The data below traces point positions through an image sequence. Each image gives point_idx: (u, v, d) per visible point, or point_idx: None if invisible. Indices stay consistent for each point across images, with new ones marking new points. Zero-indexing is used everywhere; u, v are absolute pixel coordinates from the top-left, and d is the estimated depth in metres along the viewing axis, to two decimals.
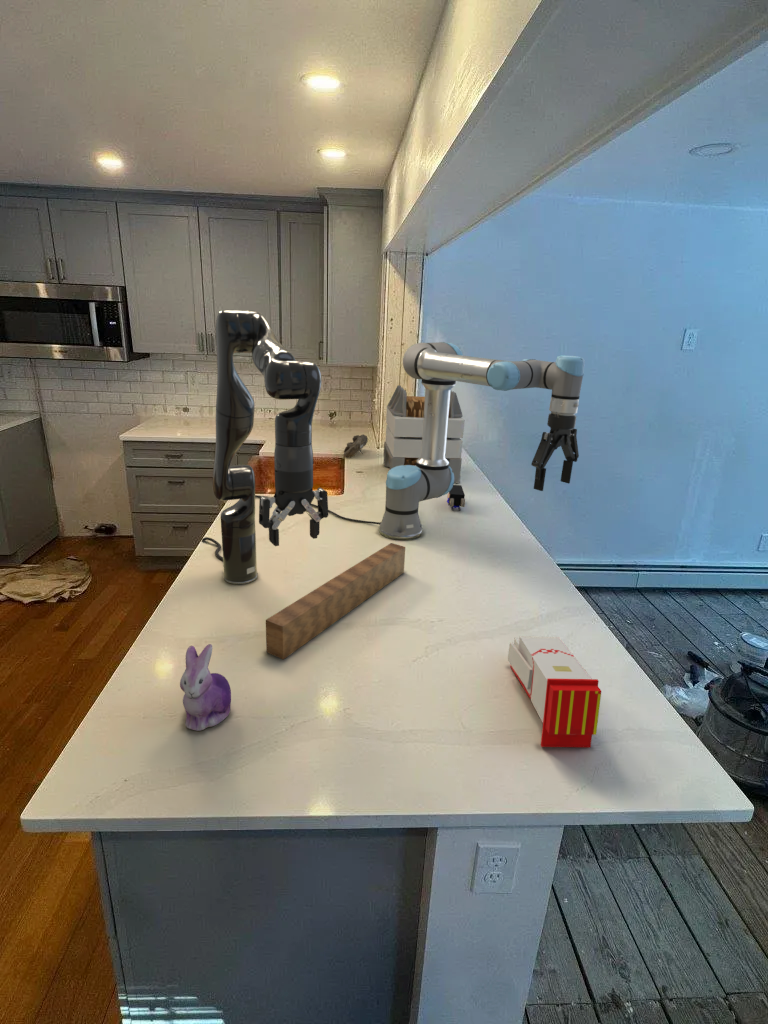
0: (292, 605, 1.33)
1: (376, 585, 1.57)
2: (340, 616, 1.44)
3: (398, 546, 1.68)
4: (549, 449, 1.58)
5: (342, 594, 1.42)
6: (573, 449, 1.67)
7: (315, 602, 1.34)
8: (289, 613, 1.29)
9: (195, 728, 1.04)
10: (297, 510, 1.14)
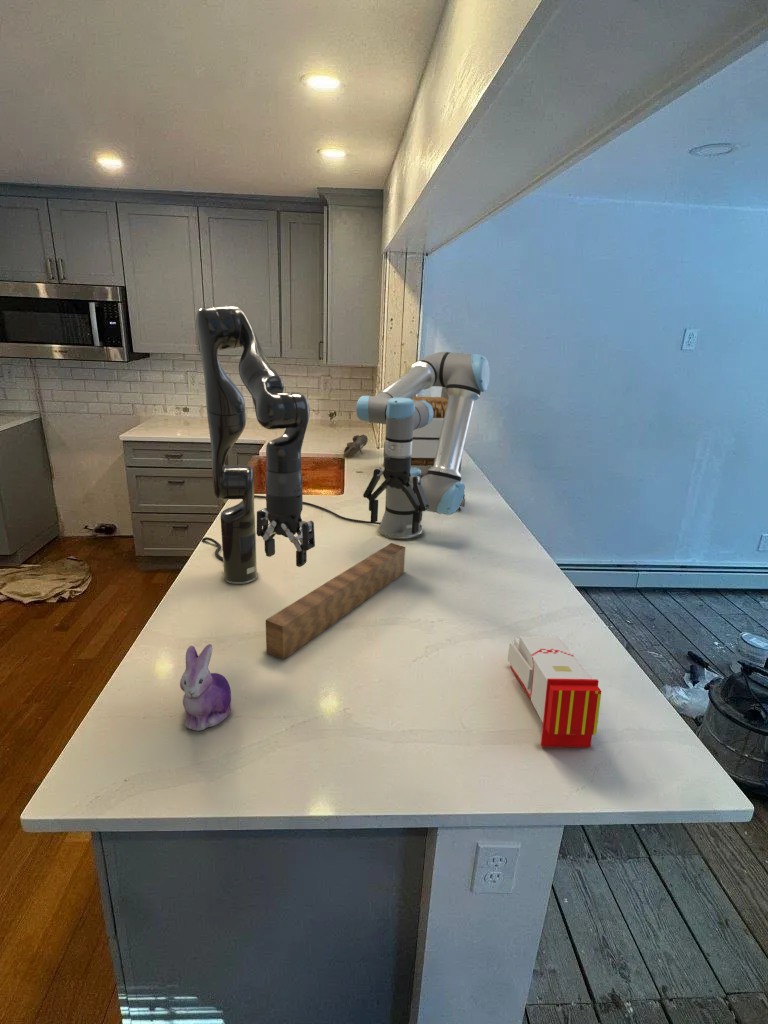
0: (292, 605, 1.33)
1: (376, 585, 1.57)
2: (340, 616, 1.44)
3: (398, 546, 1.68)
4: None
5: (342, 594, 1.42)
6: None
7: (315, 602, 1.34)
8: (289, 613, 1.29)
9: (195, 728, 1.04)
10: None
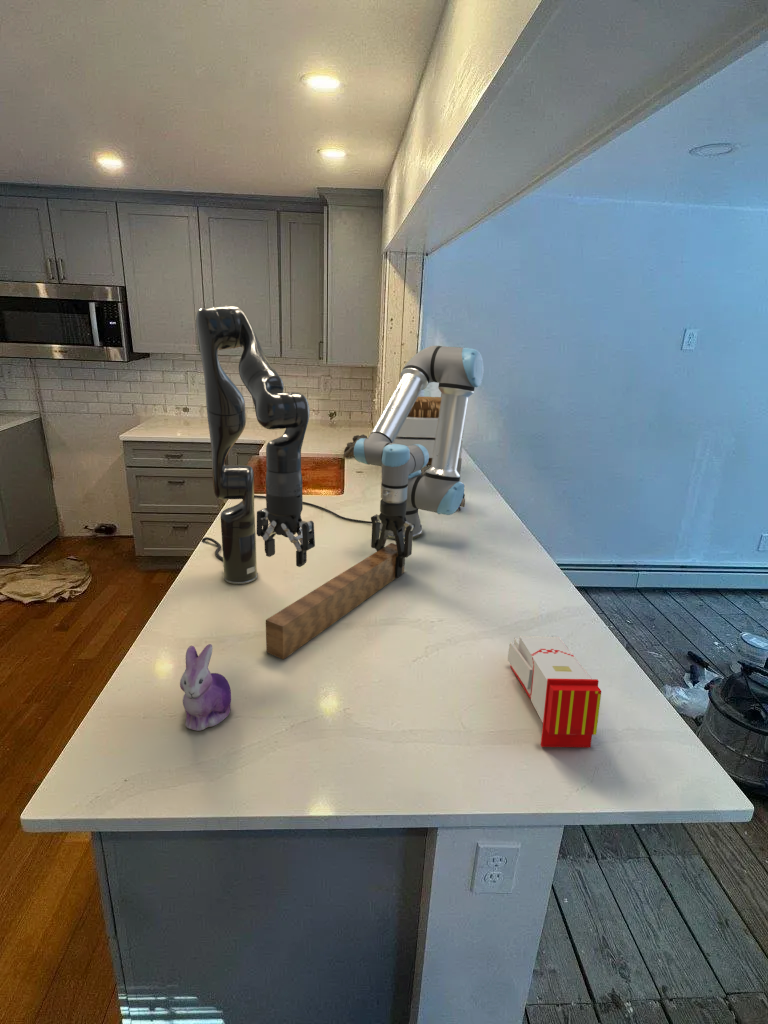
0: (292, 605, 1.33)
1: (376, 585, 1.57)
2: (340, 616, 1.44)
3: None
4: None
5: (342, 594, 1.42)
6: None
7: (315, 602, 1.34)
8: (289, 613, 1.29)
9: (195, 728, 1.04)
10: None
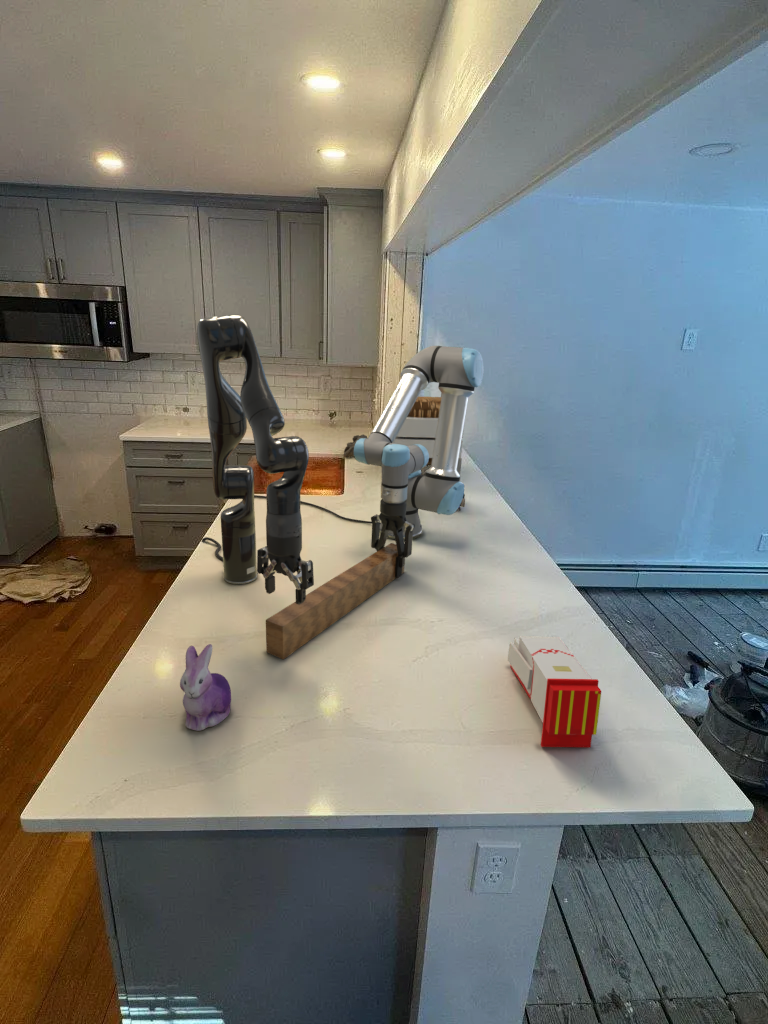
0: (292, 605, 1.33)
1: (376, 585, 1.57)
2: (340, 616, 1.44)
3: None
4: None
5: (342, 594, 1.42)
6: None
7: (315, 602, 1.34)
8: (289, 613, 1.29)
9: (195, 728, 1.04)
10: None
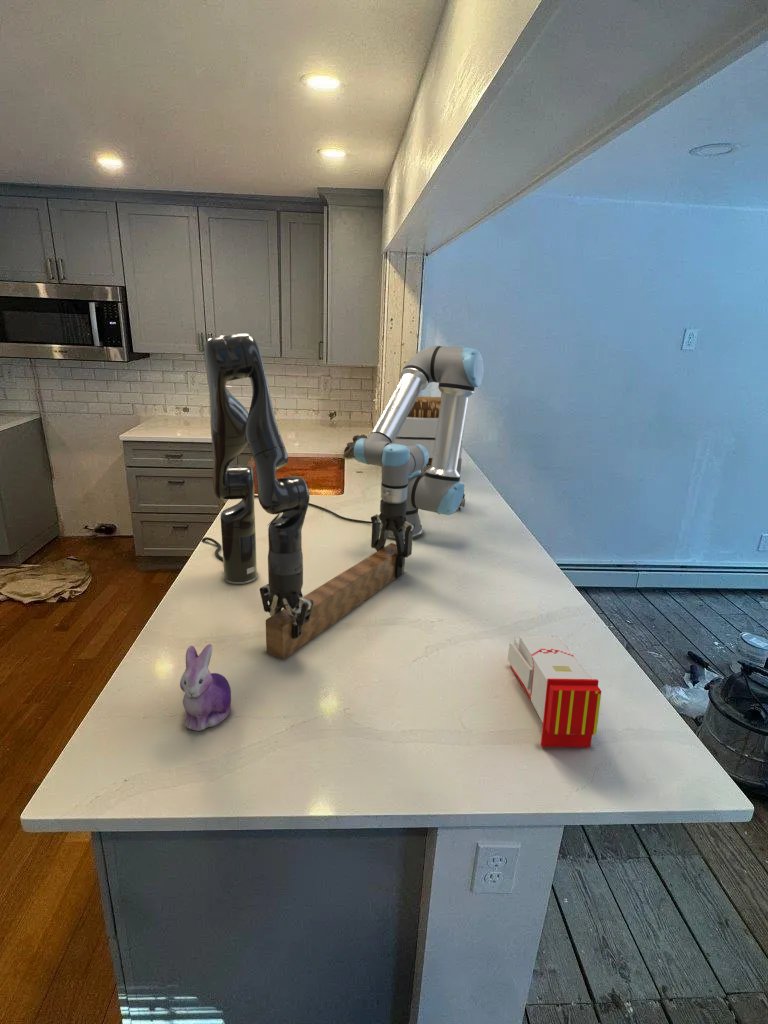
0: None
1: (376, 585, 1.57)
2: (340, 616, 1.44)
3: None
4: None
5: (342, 594, 1.42)
6: None
7: (315, 602, 1.34)
8: None
9: (195, 728, 1.04)
10: None
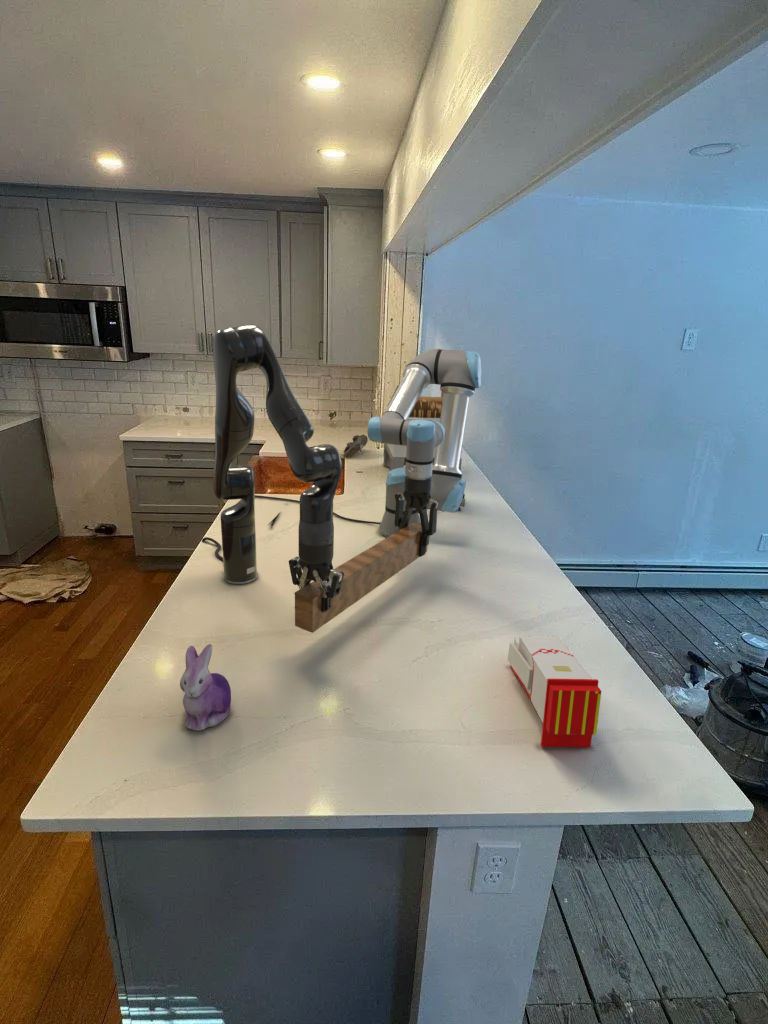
0: None
1: (401, 562, 1.55)
2: (366, 592, 1.42)
3: None
4: None
5: (369, 569, 1.40)
6: None
7: None
8: None
9: (195, 728, 1.04)
10: None
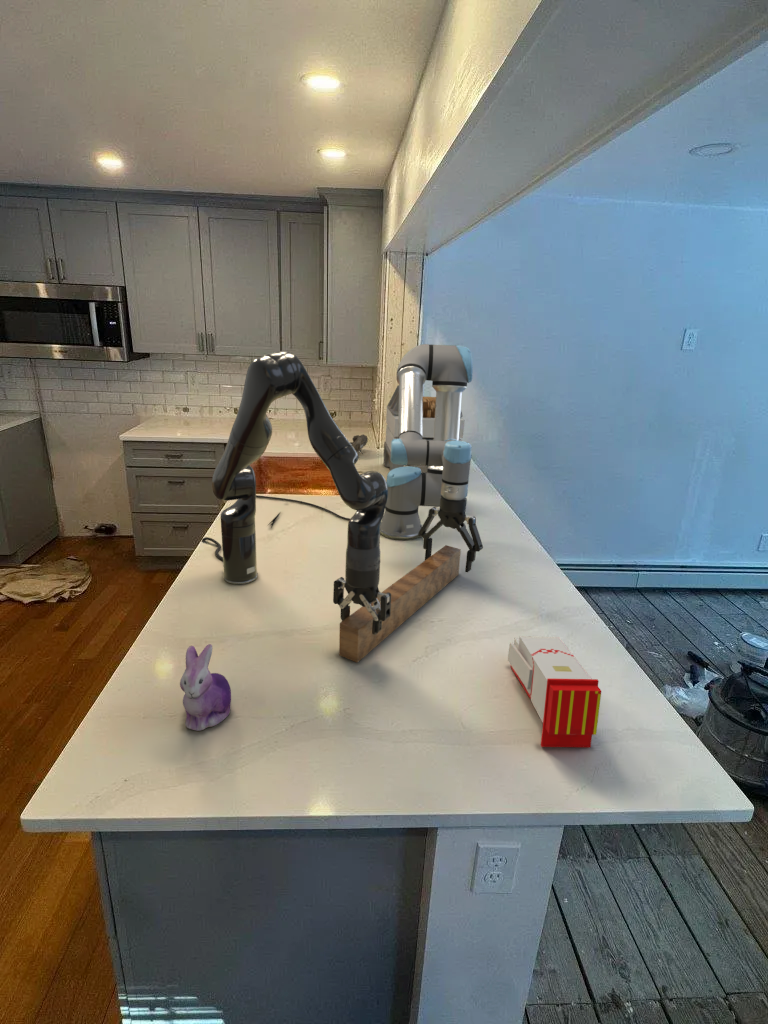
0: (362, 608, 1.33)
1: (435, 587, 1.58)
2: (405, 619, 1.44)
3: (453, 548, 1.68)
4: (435, 525, 1.66)
5: (407, 597, 1.43)
6: None
7: None
8: (362, 617, 1.29)
9: (195, 728, 1.04)
10: None
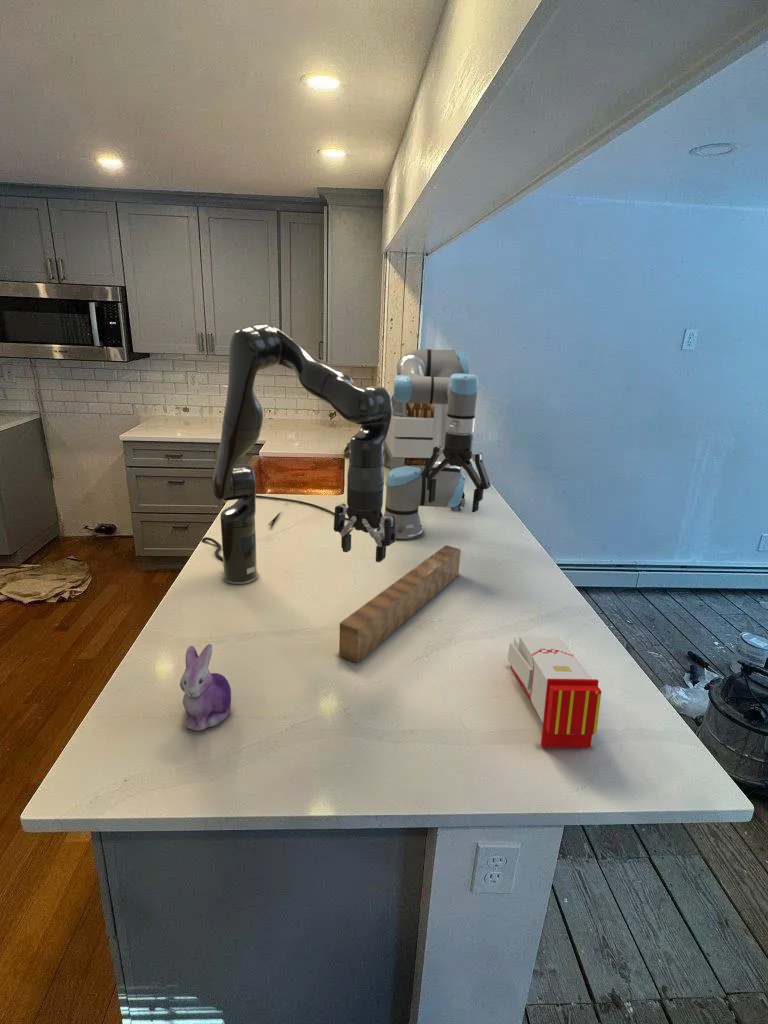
0: (362, 608, 1.33)
1: (435, 587, 1.58)
2: (405, 619, 1.44)
3: (453, 548, 1.68)
4: None
5: (407, 597, 1.43)
6: None
7: (385, 605, 1.34)
8: (362, 617, 1.29)
9: (195, 728, 1.04)
10: None
